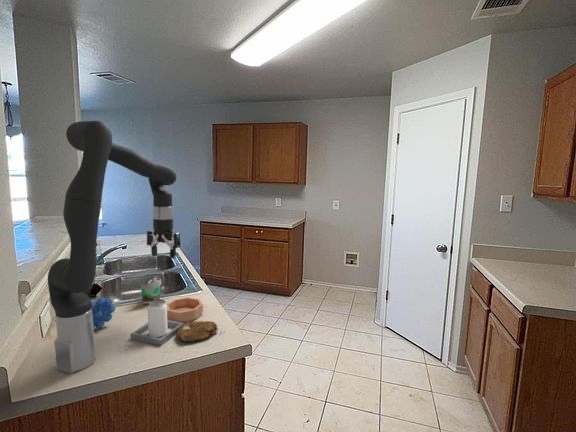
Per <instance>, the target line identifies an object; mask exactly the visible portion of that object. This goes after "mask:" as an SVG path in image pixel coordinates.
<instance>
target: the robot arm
mask: <svg viewBox="0 0 576 432" xmlns="http://www.w3.org/2000/svg"><path fill="white" fill-rule="evenodd" d="M65 132H66V133H65V135H66V136H65V137H66V140H67V142H68V143H69V145H70V146H72V147H73V148H74V149H75V150H77V151H79V152H82V157H81V158H82V159H81V163H80V166H79V169H78V171H77V172H76V174H75V176H74V177H73V179H72V180H71V182H70V184H68V185H69V186H68V188H67V189H66V192H65V197H64V198H65V199H64V204H63V213H62V214H63V220H64V224H65V228H66V230H67V234H68V237H69V239H70V253H69V258H61V259H59V260H57V261H55V262H53V264H52V265H51V266H50V268H49V269H48V274H47V285H48V287H47V288H48V292H49V300H50V304H51V307H52V308H53V310H54V314H55V323H56V336H57V338H56V339H54V351H55V354H54V355H55V363H56V370H58V371H61V372H65V373H68V374H74V373H75V372H78V371H81V370H84V369H86V368H88V367H90V366H91V365H92V364H94V363H95V361H96V357H97V356H96V346H95V344H96V343H95V331H94V329H95V328H94V329H93V314H92V302H93V301H92V299H91V298H90V297H89V296H88V295H87V294H86V293H85V291H88V289H90V287H92V284H94V281H95V277H96V275H97V273H96V272H97V239H98V230H99V221H100V220H99V219H100V217H101V216H100V214H101V208H102V200H103V197H102V196H103V189H104V184H105V183H104V182H105V177H106V170H107V165H108V162H109V161H110V162H112V163H114V164H117V165H119V166H120V167H123V168H126V169H128V170H129V171H131V172H133V173H135V174H137V175H139V176H142V177H144V178H148V183H149V186H150V190H151V193H152V196H153V198H152V199H153V200H152V202H153V203H152V204H153V207H152V228H153V229H150V230H147V231H146V246H150V247H151V248H150V249H151V250H150V251H151V256H152V257H156V256H158V244H159V243H163V244H166V245H167V246H168V247H169V258H170V259H175V258H176V256H177V248H178V249H179V248H181V235H180V234H181V233H180V232H173V229H174V209H173V195H172V192H170V191H168V190H166V188H165V186H172V185H173V184H174V183H175V182H176V181H177V174H176V171H175V170H174V169H173V168H171V167H170V166H168V165H166V164H163V163H162V162H161V163H160V162H157V161H155V160H153V159H151V158H149V157H148V156H146V155H144V154H143V153H141V152H138V151H136V150H133V149H130V148H128V147H125V146H122V145H119V144H117V143H115V142H113V134H112V131H111V129H110V127H109V126H108V124H106V123H105V122H103V121H101V120H82V121H81V120H80V121H75V122H74V123H73V122H72V123H71V124H70V125H69V126H68V127H67V129H66V131H65Z"/></svg>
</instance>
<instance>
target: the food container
mask: <svg viewBox="0 0 576 432" xmlns="http://www.w3.org/2000/svg"><path fill="white" fill-rule="evenodd" d="M162 284H163V283H162V279H161V277H159V276H157V275H152V277H151V279H149V280H147V281H146V282H145V283H144V284H140V285H141V286H140V290H141V295H142V296H141V297H142V305H143V306H149V303H150V302H151V301H154V300H161V299H160V296H161V285H162Z"/></svg>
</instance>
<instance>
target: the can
mask: <svg viewBox="0 0 576 432" xmlns="http://www.w3.org/2000/svg"><path fill="white" fill-rule="evenodd" d="M166 304H167V303H166V301H165V300H164V299H160V300H154V301H151V302H150V303H149V305H147V306H148V307H147V320H148V321H147V323H148V326H149V329H148V334H149V335H148V336H152V337H156V338H162V337H163V336H164V335H166V334H167V333H168V332H169V329H168V328H169V326H167V320H168V319H167V305H166Z"/></svg>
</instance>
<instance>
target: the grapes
mask: <svg viewBox="0 0 576 432" xmlns="http://www.w3.org/2000/svg"><path fill="white" fill-rule="evenodd" d="M91 302H92V314H93V329H97V330H98V329H102V328H103V327H104V326H105V323H109V322H110V321H111V320H112V318H113V315H112V314H113V313H115V310H116V306H115V305H114V304H113V303H114V302H113V299H112V298H108V299H106V298H105V297H103V296H102V297H99V298H98V299H97V300H96V301H95V300H94V301H91Z"/></svg>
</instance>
